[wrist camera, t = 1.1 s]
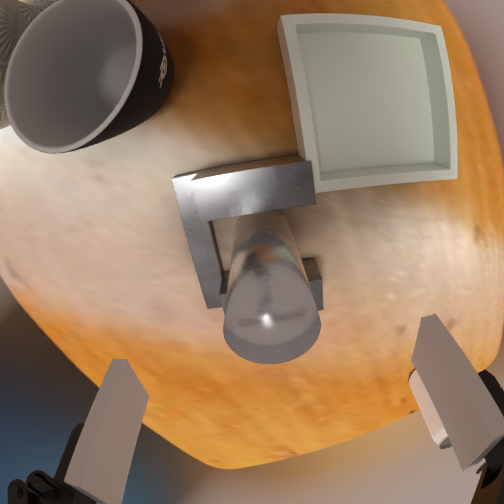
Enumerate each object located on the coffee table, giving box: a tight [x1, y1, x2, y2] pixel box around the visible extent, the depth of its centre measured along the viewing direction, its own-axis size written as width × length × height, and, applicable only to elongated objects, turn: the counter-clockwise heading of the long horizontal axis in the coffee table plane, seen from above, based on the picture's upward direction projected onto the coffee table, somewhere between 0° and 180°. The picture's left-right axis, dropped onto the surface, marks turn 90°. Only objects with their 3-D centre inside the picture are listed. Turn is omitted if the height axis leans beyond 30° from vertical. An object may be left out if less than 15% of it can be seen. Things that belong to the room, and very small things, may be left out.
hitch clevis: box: [172, 155, 323, 314], centre depth 23 cm, size 12×10×4 cm
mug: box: [4, 0, 174, 153], centre depth 13 cm, size 12×9×10 cm
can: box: [409, 369, 452, 449], centre depth 28 cm, size 6×6×12 cm
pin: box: [223, 210, 321, 364], centre depth 19 cm, size 5×5×12 cm
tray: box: [277, 13, 458, 193], centre depth 18 cm, size 13×13×3 cm
